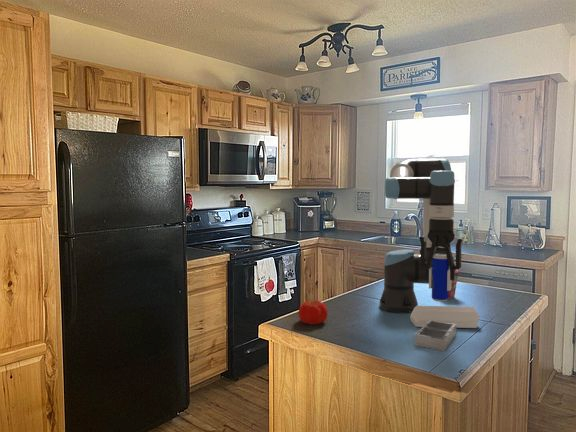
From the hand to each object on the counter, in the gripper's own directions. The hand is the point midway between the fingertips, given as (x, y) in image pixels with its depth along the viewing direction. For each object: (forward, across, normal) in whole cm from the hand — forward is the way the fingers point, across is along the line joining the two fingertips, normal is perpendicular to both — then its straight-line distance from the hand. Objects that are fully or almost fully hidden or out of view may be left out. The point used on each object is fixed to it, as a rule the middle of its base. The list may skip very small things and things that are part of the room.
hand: (440, 288), depth 146 cm
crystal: (+17, -1, +12) cm, 21 cm away
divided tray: (+16, 0, -4) cm, 17 cm away
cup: (+16, -8, +52) cm, 55 cm away
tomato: (+16, -43, -9) cm, 47 cm away
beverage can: (+4, 0, 0) cm, 4 cm away
